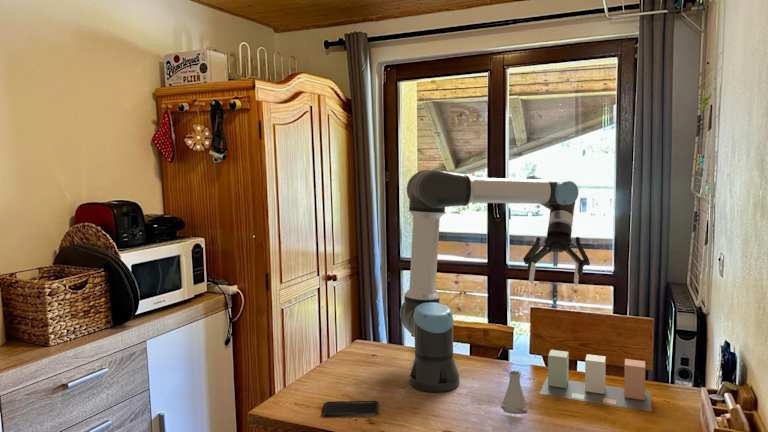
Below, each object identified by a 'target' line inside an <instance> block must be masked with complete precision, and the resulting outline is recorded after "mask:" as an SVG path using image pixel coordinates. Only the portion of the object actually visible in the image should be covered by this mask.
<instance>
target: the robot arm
mask: <svg viewBox="0 0 768 432" xmlns="http://www.w3.org/2000/svg"><path fill="white" fill-rule="evenodd" d="M406 194H407V197H408V199H409V201H408V202H409V205H408V206H409V207H408V209H409V210H408V212H409V213H410V214H411V215H412V217H413V218H412V232H411V233H412V234H411V252H410V253H411V255H410V272H409V273H410V274H409V289H408V290H407V291H406V292H404V296H403V297H404V300H403V303H402V305H401V307H400V310H399V317H400V322H401V324H402V325H403V327H404V328H405V329H406V330H407V331H408V332H409V333H410V334H411V335H412V336H413V338H414V360H413V363H412V366H411V370H410V373H409V385H410V386H411V387H413V388H414V389H416V390H417V391H422V392H427V393H444V392H449V391H452V390H454V389H456V388H458V387H459V386H460V373H459V371H458V368H457V364H456V362H455V358H454V317H453V311H452V309H451V308H450V307H449V306H447V305H445V304H441V296H440V294H439V293H438V292H437V290H436V288H437V274H438V273H437V270H438V254H439V253H438V252H439V241H440V240H439V235H440V223H441V222H440V220H441V219H440V218H441V217H442V216H444V214H445V213H446V208H450V207H451V208H452V207H467V206H468V205H470V204H471V203H472V204H474V203H477V204H535V205H536V204H537V205H541V206H543V207H544V208H547V209H548V210H549V218H548V219H549V220H548V224H547V225H548V227H547V232H546V237H545V238H544V239H543V238H541V237H536V240H535V243H534V244H533V245H532V246H531V248H530V249H529V250H528V252H527V253H526V254H525V255H524V256H523V258H522V260H523V263H524V264H525V265H527V268H526V269H527V270H526V271H527V273H528V274H529V276H528V277H529V278H528V281H529V284H530V285H534V282H535V281H534V280H535V275H536V274H535V273H536V264H537V263H538V262H539V261H540V260H542V259H543V258H544V257H545V256H547V255H549V254H550V253H563V252H565V253H566V254H567V255H569V256H570V257H571V259H572V260H573V261H574V262H575V265H574V266H575V267H574V278H573V283H574V285H575V286H576V287H577V286H579V279H580V276H583V274H584V273H583V272H584V267H585V266H590V265H591V262H590V259H589V257H588V255H587V254H586V251H585V250H584V247H583V246H582V242H581V238H580V237H579V236H576V237H575V238H572V231H573V230H572V228H573V223H574V214H575V213H574V212H575V205H576V201H577V200H578V197H579V188H578V185H577V183H575V181H572V180H568V179H562V180H561V179H560V180H559V179H543V178H542V177H540V176H538V175H535V174H530V175H528V176H526V178H524V179H523V178H501V177H499V178H497V177H491V178H490V177H471V176H470V175H469V174H467V173H455V172H449V171H444V170H438V169H435V170H433V169H432V170H429V169H426V170H420V171H418V172H416V173H414V174H413V175H412V176H411V177H410V178H409V180H408V182H407V184H406ZM572 244H573V246H574V247H577V250H578V252H579V254H580V256H581V257H580V256H579V255H578V254H577V253H576V252H575V251H574V250H573V249H572V248H571V247H570V246H571V245H572ZM541 247H542V248H541Z"/></svg>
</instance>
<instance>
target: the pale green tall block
mask: <svg viewBox="0 0 768 432" xmlns="http://www.w3.org/2000/svg"><path fill="white" fill-rule="evenodd" d="M569 356H570V354H569V351H563V350H555V349H550V350H549V353H548V355H547V377H548V386H554V387H561V388H567V385H568V380H569V359H570V357H569Z"/></svg>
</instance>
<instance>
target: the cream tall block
mask: <svg viewBox="0 0 768 432" xmlns="http://www.w3.org/2000/svg"><path fill="white" fill-rule="evenodd" d="M606 358H607V356H604V355H595V354H588V353H587V354H586V356H585V360H584V361H585V362H584V364H585V365H584V367H585V368H584V371H585V372H584V382H585V391H587V392H594V393H601V394H604V393H605V386H606V371H607V370H606V369H607V368H606V367H607V365H606V363H607V362H606V361H607V360H606Z"/></svg>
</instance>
